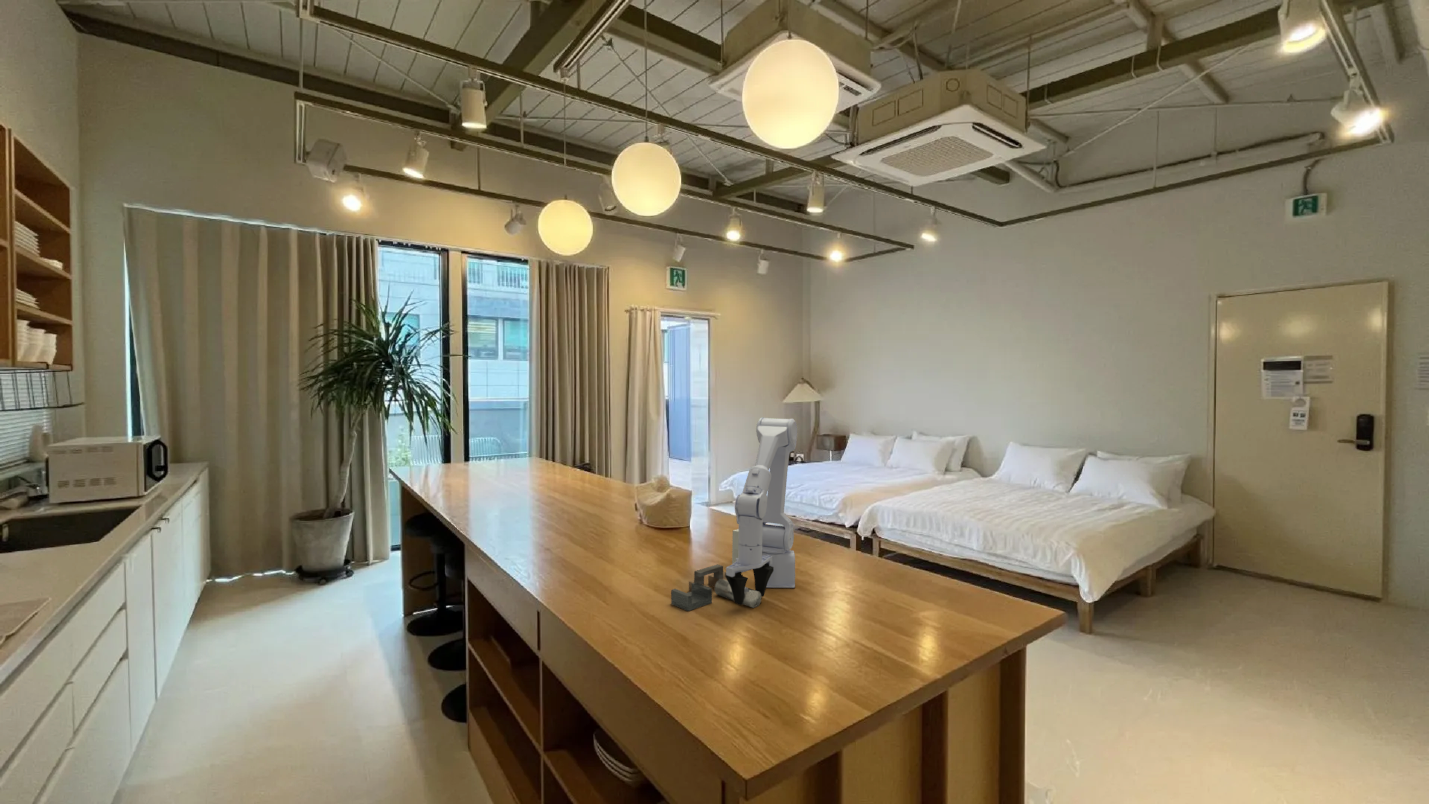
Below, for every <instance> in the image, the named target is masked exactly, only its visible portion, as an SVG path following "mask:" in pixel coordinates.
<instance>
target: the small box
mask: <svg viewBox="0 0 1429 804" xmlns="http://www.w3.org/2000/svg"><path fill="white" fill-rule="evenodd" d="M738 534H739V528H737V529H733V530H732V543H731V544H732V545H731V546H732V549H731V550H732V551H731V553H732V555H731V557H732V558H731V563H732V564H733V563H735V562H736V558H738ZM732 564H731V565H732Z"/></svg>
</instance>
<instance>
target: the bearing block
mask: <svg viewBox="0 0 1429 804" xmlns="http://www.w3.org/2000/svg"><path fill="white" fill-rule="evenodd" d="M725 573H726V571H724V565H722V564H721V565H720V564H714V565H711V566H708V567H705V568H701V569H697V570H694V574H693V575H694V576H693V579H692V580H689V581H688V592H691V591H692V583H698V584H701V585H704V586H706V587H709V588H710V586H711V587H713V588H715V584H716V582H717V581H718V580H719V579H724V580H727V579H726V577H725ZM705 576H707V579H708V583H707V584H706V583H705ZM727 581H728V580H727Z"/></svg>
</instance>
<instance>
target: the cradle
mask: <svg viewBox="0 0 1429 804" xmlns="http://www.w3.org/2000/svg"><path fill="white" fill-rule="evenodd" d="M670 590H671V593H670V594H671V595H670V596H671V597H670V604H671V605H672V606H675V607H677V608H679V609H682V610H684V611H687V612H690V611H693V610H696V609H699V608H702V607H704V606H706V605H710V604H712V603H713V588H711V587H710V586H709V587H706V586H704V585H701V584H698V583H692V591H691V592H690V591H688V592H685V591H682V590H680V589H677V588H672V589H670Z"/></svg>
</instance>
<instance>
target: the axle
mask: <svg viewBox="0 0 1429 804" xmlns="http://www.w3.org/2000/svg"><path fill="white" fill-rule="evenodd" d="M714 593H715V594H716V595H717V596H720V597H723V598H725V599H728V600H730V601H733V602H734V597H733V593H732V590H731V587H730V584H729V582H728V581H727V580H724V579H719V580H718V581H717V582H716V584H715V587H714ZM761 602H762V597H761V593H760V592H759V591H756V590H755V589H752V588H750V587H746V586H745V590H744V601H743V604H742V605H744V606H745V607H746V606H747V607H750V608H752V609H755V608H757V607H759V606H760V604H761Z"/></svg>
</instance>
